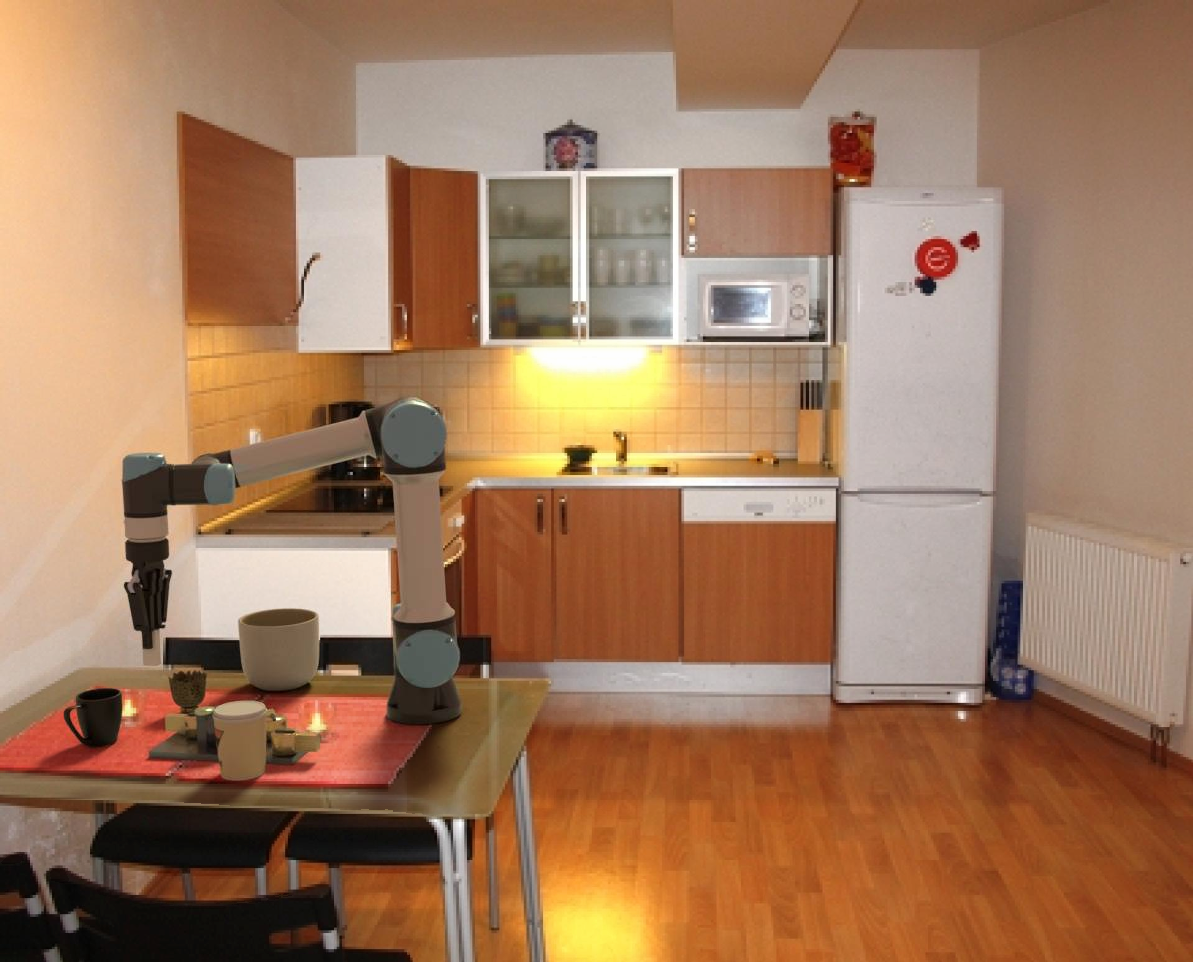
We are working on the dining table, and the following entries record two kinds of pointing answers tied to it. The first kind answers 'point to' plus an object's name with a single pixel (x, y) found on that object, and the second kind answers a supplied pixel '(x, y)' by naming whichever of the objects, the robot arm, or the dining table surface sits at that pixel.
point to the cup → (188, 690)
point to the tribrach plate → (209, 754)
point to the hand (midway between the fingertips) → (152, 664)
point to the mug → (97, 716)
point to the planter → (279, 647)
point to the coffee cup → (241, 739)
